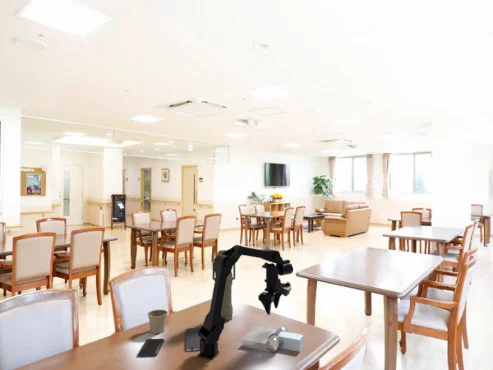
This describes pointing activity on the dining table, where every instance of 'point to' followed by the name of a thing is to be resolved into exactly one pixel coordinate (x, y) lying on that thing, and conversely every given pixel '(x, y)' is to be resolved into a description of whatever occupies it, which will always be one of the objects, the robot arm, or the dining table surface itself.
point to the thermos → (226, 293)
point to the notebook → (192, 339)
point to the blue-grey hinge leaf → (290, 341)
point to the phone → (151, 348)
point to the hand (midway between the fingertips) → (272, 311)
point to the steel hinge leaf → (263, 338)
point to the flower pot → (157, 320)
